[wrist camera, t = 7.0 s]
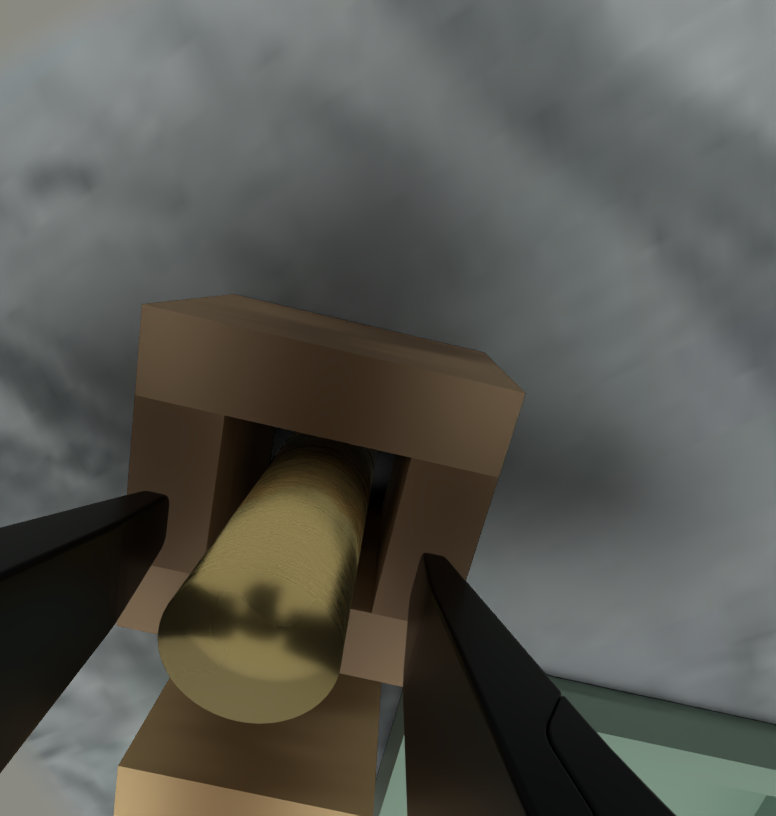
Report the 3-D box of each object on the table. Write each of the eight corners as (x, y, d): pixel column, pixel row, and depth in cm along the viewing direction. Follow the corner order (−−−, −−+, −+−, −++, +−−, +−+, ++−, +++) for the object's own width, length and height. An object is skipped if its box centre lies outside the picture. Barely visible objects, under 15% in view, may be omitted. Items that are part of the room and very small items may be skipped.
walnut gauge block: (484, 352, 13) (525, 393, 8) (422, 567, 15) (430, 692, 10) (233, 294, 13) (142, 304, 8) (204, 519, 15) (116, 625, 10)
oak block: (382, 652, 16) (373, 818, 11) (347, 781, 17) (325, 975, 13) (206, 614, 16) (118, 765, 11) (187, 748, 17) (103, 931, 12)
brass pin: (369, 487, 14) (322, 739, 6) (290, 469, 14) (150, 702, 6) (386, 412, 13) (358, 594, 6) (304, 393, 13) (166, 551, 6)
